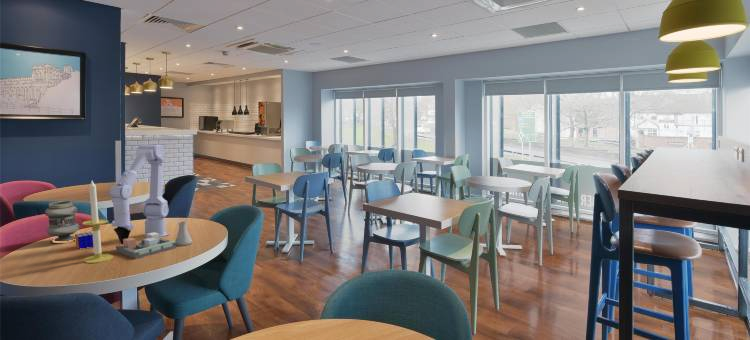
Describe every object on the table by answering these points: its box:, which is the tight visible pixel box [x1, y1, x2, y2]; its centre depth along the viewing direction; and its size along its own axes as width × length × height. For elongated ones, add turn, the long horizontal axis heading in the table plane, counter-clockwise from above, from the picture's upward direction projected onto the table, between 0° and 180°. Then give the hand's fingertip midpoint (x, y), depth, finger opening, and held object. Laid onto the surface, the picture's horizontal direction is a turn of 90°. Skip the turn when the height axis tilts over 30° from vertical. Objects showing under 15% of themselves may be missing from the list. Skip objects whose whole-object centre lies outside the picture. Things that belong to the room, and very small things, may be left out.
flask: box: [174, 221, 193, 246], centre depth 183 cm, size 7×7×10 cm
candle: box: [82, 180, 114, 264], centre depth 161 cm, size 10×10×32 cm
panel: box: [115, 237, 177, 260], centre depth 175 cm, size 16×17×3 cm
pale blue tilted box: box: [144, 238, 157, 247], centre depth 172 cm, size 4×3×4 cm
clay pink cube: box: [122, 237, 137, 249], centre depth 172 cm, size 4×3×4 cm
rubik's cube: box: [74, 231, 94, 250], centre depth 178 cm, size 6×6×6 cm
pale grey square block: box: [146, 232, 160, 243], centre depth 180 cm, size 4×3×4 cm
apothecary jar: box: [44, 200, 81, 241], centre depth 185 cm, size 12×12×18 cm
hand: (124, 243), depth 175 cm, fingers closed
